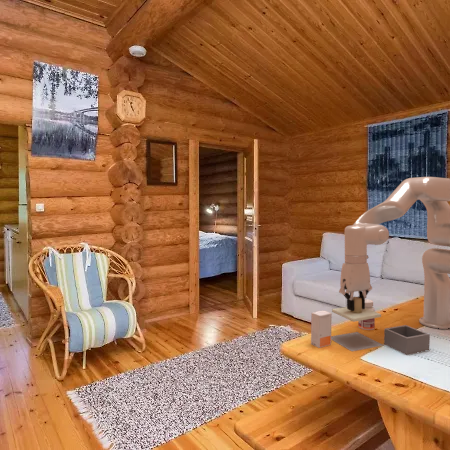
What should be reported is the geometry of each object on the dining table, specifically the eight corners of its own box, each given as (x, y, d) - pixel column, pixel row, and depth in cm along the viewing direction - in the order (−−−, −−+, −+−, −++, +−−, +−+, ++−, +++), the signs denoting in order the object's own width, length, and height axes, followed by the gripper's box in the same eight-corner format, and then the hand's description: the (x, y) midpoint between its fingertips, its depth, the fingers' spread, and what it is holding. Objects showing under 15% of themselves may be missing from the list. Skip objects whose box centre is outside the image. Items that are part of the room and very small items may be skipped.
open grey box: (405, 340, 132) (405, 324, 132) (429, 351, 123) (429, 334, 123) (384, 344, 129) (384, 328, 129) (406, 356, 120) (407, 338, 119)
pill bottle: (377, 328, 145) (378, 301, 145) (368, 332, 142) (368, 303, 141) (364, 324, 150) (364, 297, 150) (354, 327, 147) (355, 300, 146)
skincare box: (318, 349, 126) (319, 315, 126) (310, 344, 130) (310, 312, 129) (331, 345, 129) (332, 313, 128) (323, 341, 133) (323, 309, 132)
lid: (358, 307, 139) (358, 292, 139) (381, 316, 128) (381, 300, 128) (332, 311, 135) (331, 296, 135) (353, 321, 124) (353, 304, 124)
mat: (357, 332, 141) (357, 332, 141) (384, 346, 128) (384, 345, 128) (327, 337, 136) (327, 336, 136) (351, 352, 123) (351, 351, 123)
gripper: (367, 256, 136) (367, 303, 138) (329, 260, 131) (330, 309, 132) (381, 259, 129) (381, 308, 131) (343, 263, 124) (343, 315, 125)
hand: (355, 308), depth 131 cm, fingers closed on lid, 4 cm apart
